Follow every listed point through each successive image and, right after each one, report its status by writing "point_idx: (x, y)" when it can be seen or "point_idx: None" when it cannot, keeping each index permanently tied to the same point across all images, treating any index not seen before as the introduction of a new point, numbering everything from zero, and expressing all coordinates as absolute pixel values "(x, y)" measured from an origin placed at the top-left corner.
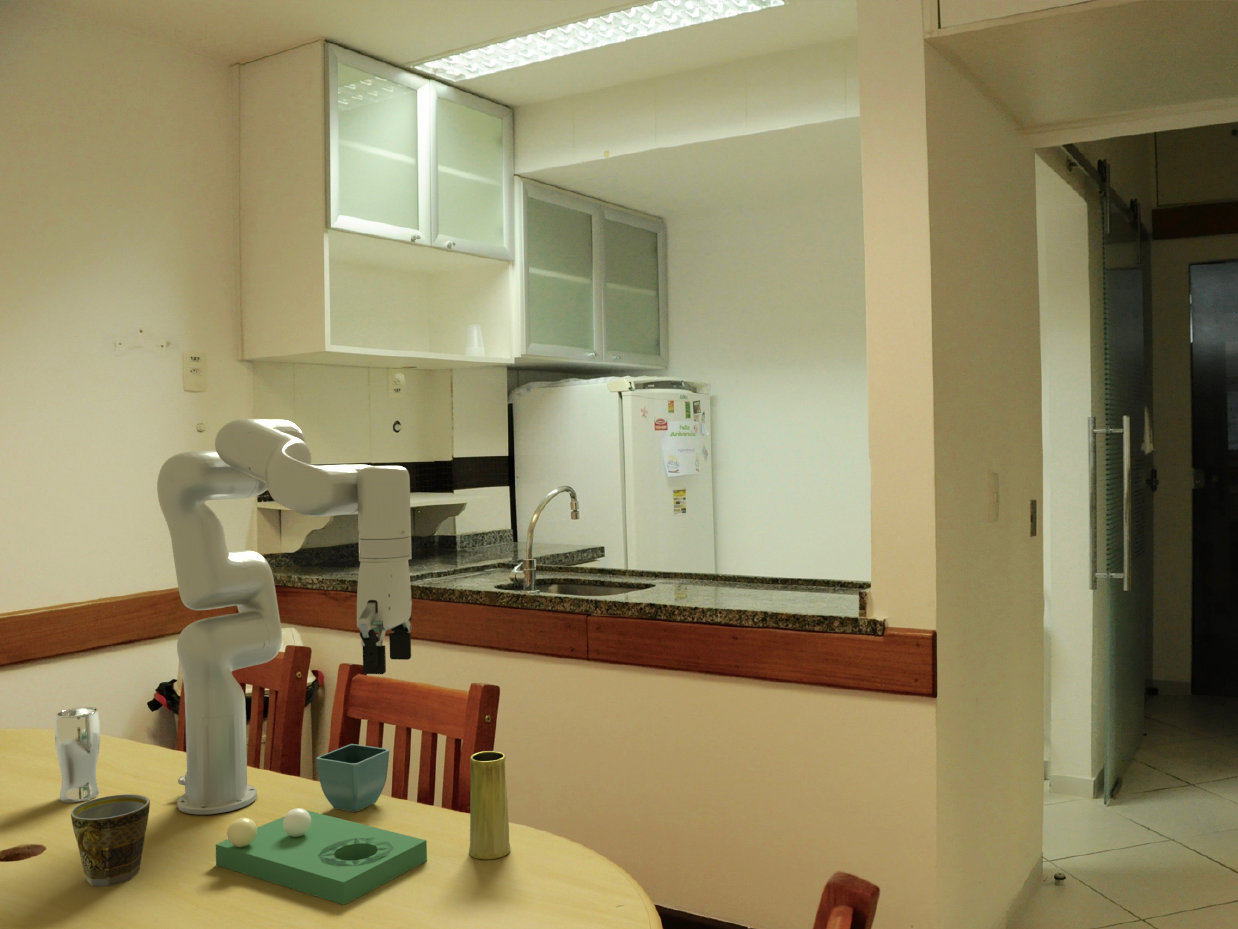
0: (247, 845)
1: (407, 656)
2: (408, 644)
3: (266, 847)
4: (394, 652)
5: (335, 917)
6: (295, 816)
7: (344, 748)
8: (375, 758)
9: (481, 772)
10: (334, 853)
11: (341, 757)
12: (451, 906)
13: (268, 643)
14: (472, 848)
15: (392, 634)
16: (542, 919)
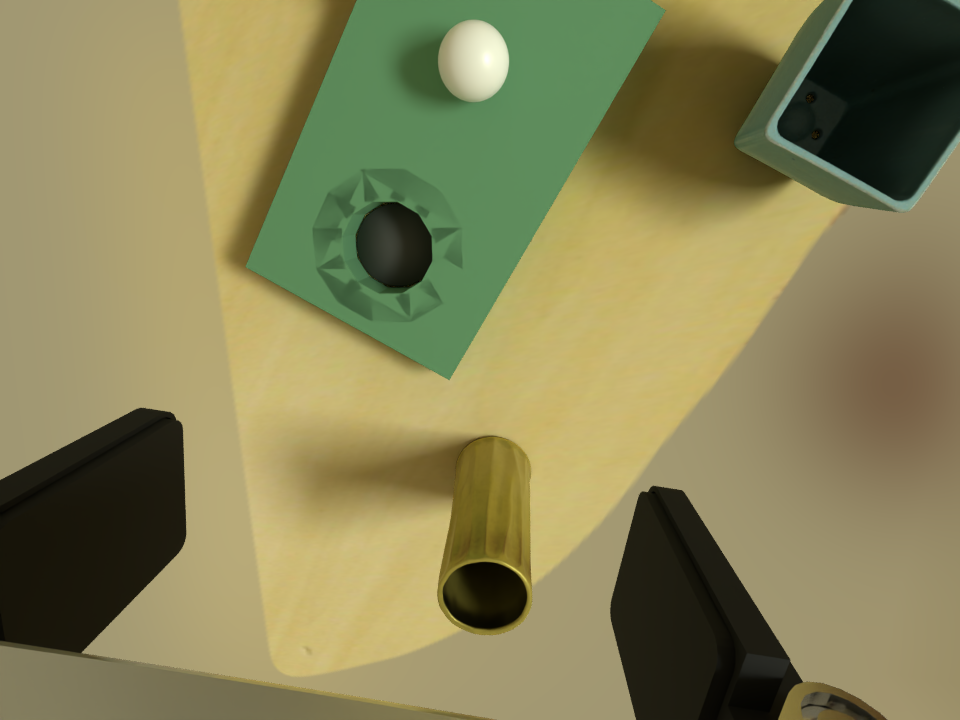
0: None
1: (613, 619)
2: (636, 714)
3: (404, 15)
4: (649, 549)
5: (222, 260)
6: (446, 61)
7: None
8: (841, 181)
9: (442, 567)
10: (382, 201)
11: (946, 30)
12: (282, 438)
13: None
14: (471, 450)
15: (714, 676)
16: (257, 562)
